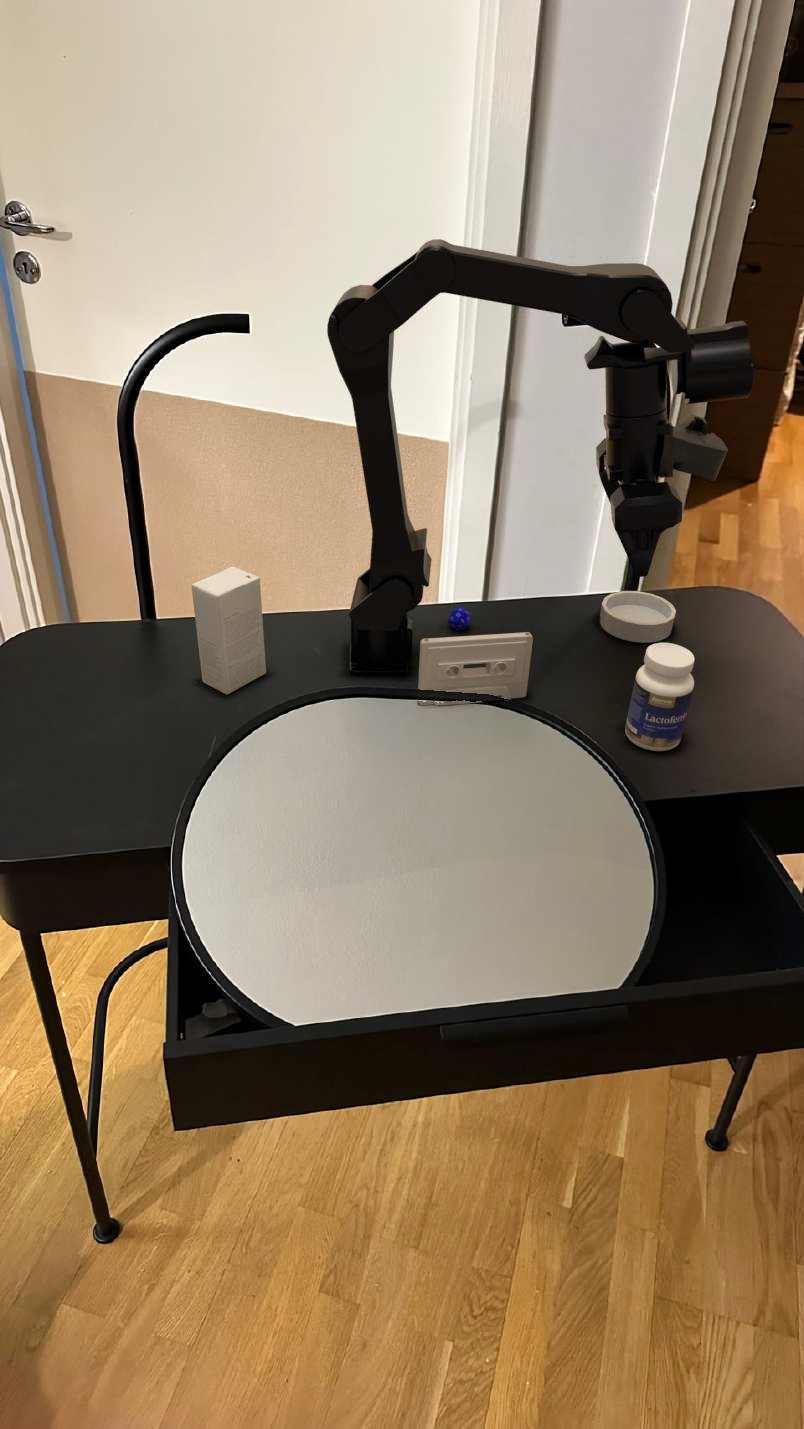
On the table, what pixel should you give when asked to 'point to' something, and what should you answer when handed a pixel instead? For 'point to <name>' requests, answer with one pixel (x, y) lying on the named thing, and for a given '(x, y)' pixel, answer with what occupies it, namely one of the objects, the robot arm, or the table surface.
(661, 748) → the pill bottle
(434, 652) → the cassette
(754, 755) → the table surface
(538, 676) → the table surface
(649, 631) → the dish
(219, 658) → the cosmetic box
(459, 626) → the die
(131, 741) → the table surface
